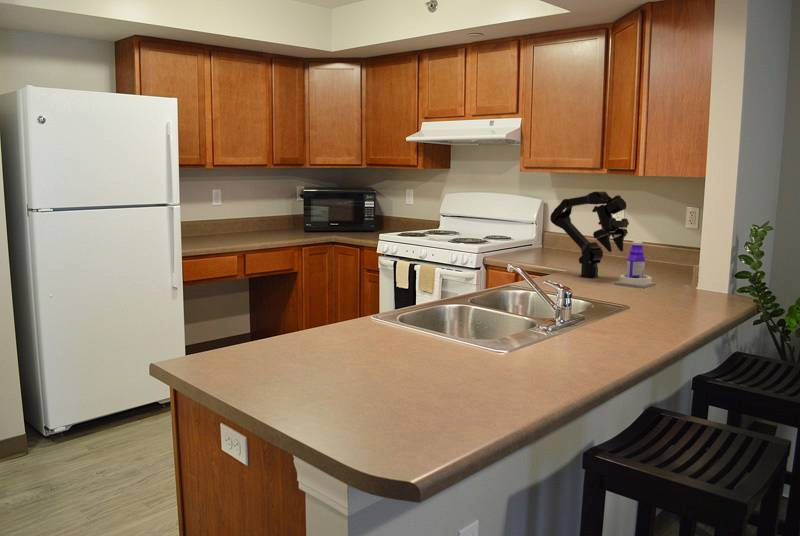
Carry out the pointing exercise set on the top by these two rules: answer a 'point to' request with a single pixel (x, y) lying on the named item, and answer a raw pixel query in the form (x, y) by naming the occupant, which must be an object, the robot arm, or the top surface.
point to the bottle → (636, 261)
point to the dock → (635, 281)
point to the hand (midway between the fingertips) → (616, 251)
